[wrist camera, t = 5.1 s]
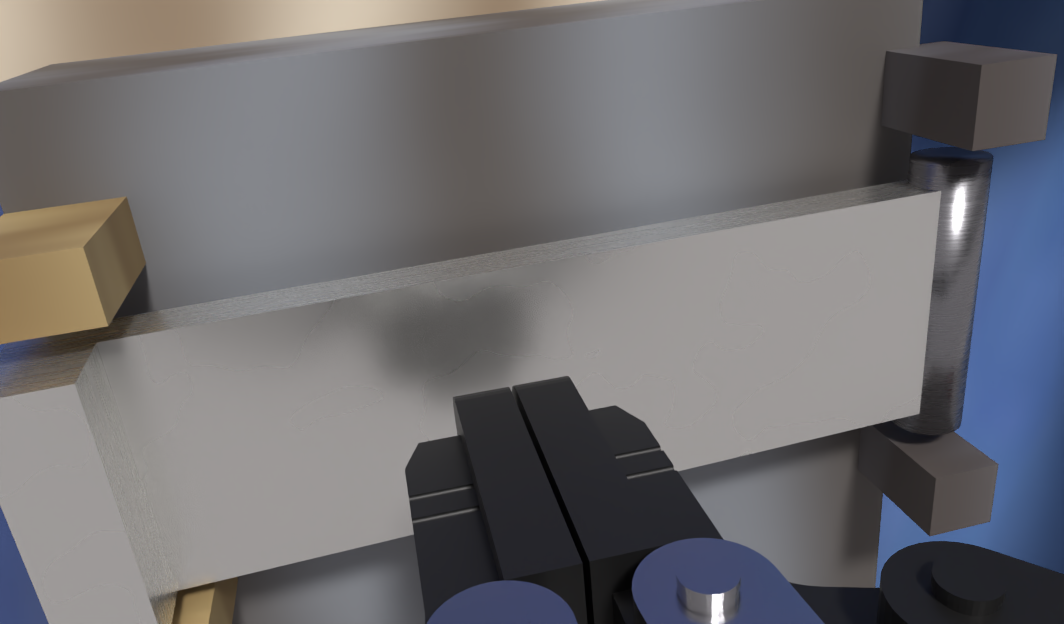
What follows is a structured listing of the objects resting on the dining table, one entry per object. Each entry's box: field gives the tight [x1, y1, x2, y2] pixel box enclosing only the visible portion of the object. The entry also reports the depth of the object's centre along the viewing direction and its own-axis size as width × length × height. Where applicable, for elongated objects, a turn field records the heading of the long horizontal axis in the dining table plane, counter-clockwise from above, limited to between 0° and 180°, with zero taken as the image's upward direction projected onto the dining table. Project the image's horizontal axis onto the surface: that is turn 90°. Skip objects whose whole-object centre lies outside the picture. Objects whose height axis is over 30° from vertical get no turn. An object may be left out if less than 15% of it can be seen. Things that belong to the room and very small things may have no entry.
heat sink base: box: [0, 0, 1057, 624], centre depth 18 cm, size 16×28×8 cm, turn 6°
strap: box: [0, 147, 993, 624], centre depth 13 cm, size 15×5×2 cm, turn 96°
